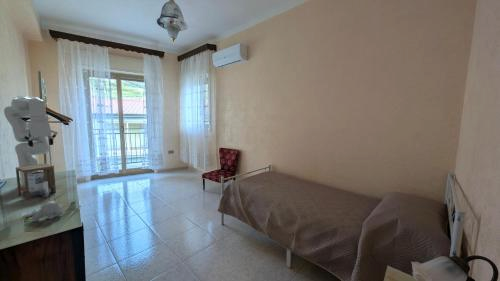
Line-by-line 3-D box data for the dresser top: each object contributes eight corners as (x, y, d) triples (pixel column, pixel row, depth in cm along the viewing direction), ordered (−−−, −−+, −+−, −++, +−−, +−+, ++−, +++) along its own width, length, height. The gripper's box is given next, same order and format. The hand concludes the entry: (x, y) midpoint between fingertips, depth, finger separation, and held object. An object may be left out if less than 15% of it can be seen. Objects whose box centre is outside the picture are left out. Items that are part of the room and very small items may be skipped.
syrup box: (36, 196, 138) (33, 174, 136) (29, 195, 139) (26, 173, 138) (46, 192, 144) (44, 171, 142) (39, 192, 145) (37, 171, 143)
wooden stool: (18, 195, 138) (15, 167, 136) (46, 189, 151) (44, 163, 149) (27, 199, 132) (24, 170, 130) (56, 192, 144) (53, 165, 142)
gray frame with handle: (23, 194, 139) (21, 179, 138) (44, 189, 148) (43, 175, 147) (36, 200, 130) (34, 184, 129) (57, 195, 139) (56, 179, 138)
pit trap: (16, 191, 145) (16, 189, 145) (36, 187, 154) (36, 185, 154) (22, 194, 140) (22, 192, 140) (42, 189, 149) (42, 187, 149)
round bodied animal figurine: (36, 223, 109) (26, 210, 107) (64, 209, 116) (55, 196, 113) (33, 229, 104) (22, 215, 101) (63, 214, 110) (53, 200, 107)
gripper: (53, 119, 145) (55, 144, 147) (16, 119, 130) (20, 147, 132) (58, 119, 142) (61, 144, 143) (21, 119, 127) (25, 147, 128)
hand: (41, 145), depth 138 cm, fingers open, 9 cm apart
